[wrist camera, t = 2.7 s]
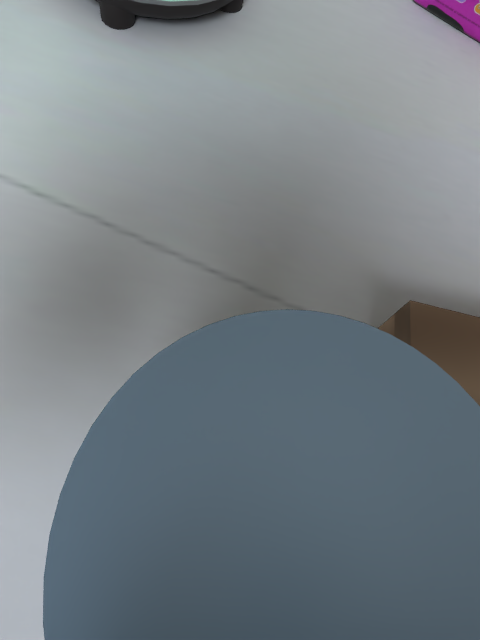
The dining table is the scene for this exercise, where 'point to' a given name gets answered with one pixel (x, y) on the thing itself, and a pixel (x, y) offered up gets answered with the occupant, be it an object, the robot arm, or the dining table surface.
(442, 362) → the keyhole board
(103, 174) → the dining table surface
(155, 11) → the mint green blender
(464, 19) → the candy bar box
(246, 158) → the dining table surface
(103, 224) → the dining table surface
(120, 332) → the dining table surface
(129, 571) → the keyhole stud
